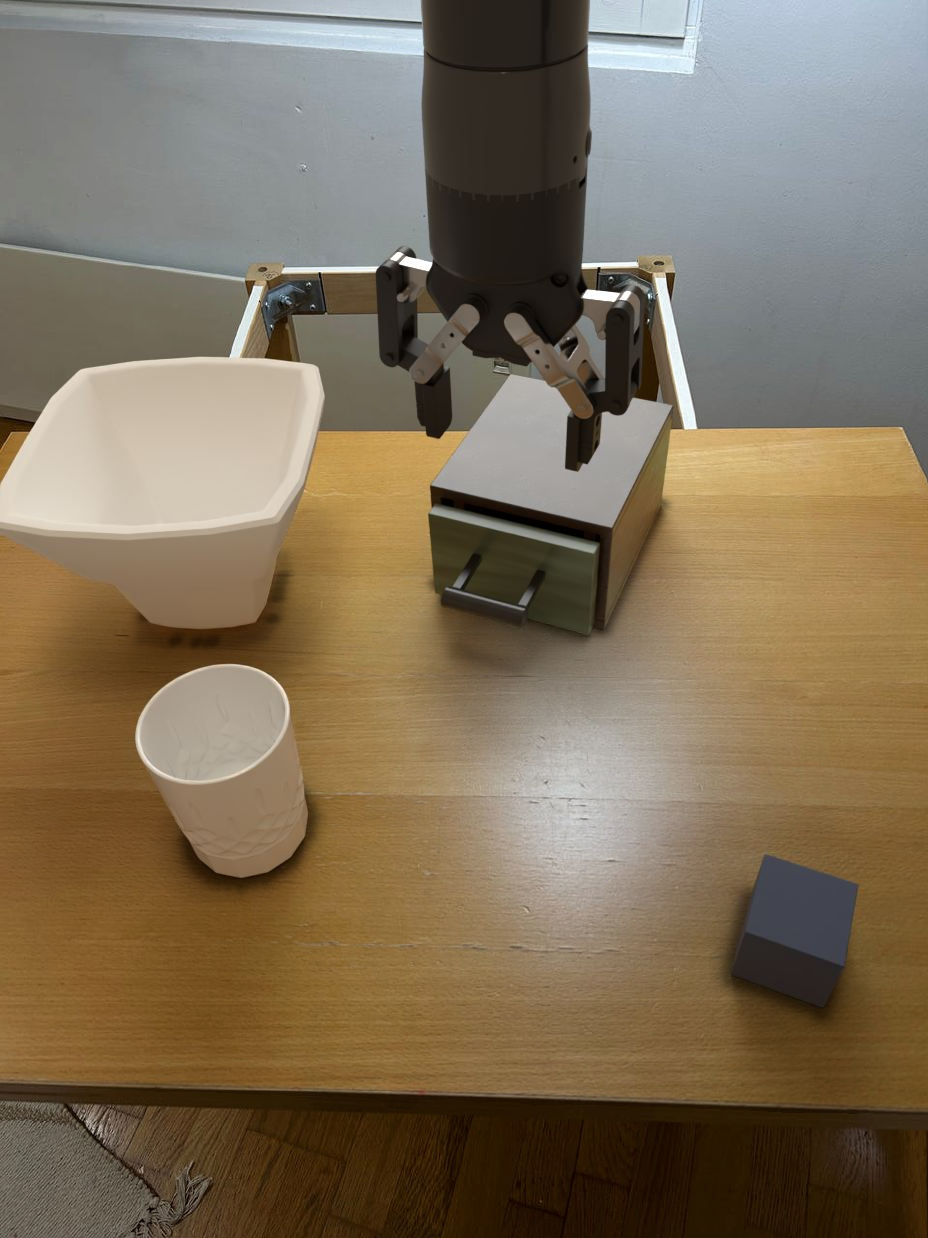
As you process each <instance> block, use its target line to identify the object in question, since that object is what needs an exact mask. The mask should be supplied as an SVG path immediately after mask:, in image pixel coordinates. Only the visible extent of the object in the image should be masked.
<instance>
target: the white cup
mask: <svg viewBox="0 0 928 1238" xmlns="http://www.w3.org/2000/svg"><path fill="white" fill-rule="evenodd" d="M294 727H295V726H294V721H293V715H292V711H291V706H290V701H289V698H288V695H287V693H286V691H285V689H284V688H283V686H282V685H281V684H280V682H279V681H277V679H275V677H273V676H271V675H270V674H269V673H267V672H265V671H263V670H261V669H258V668H255V667H254V666H249V665H244V664H236V663H221V664H212V665H207V666H203V667H200V668H197V669H193V670H191V671H188V672H186V673H184V674H182V675H180V676H177V677H175V678H174V679H173V680H171V681H169V682H168V683H167V684H165V685H164V686H162V687H161V688H160V689H159V690H158V691H156V693H155V694H154V695H153V696H152V697H151V699H149V700H148V701H147V703H146V705H145V706H144V707H143V709H142V711H141V713H140V715H139V718H138V720H137V724H136V726H135V736H134V740H135V747H136V750H137V753H138V756H139V758H140V760H141V761H142V763H143V765H144V767H145V769H146V770H147V772H148V774H149V776H150V778H151V780H152V782H153V783H154V785H155V787H156V788H157V791H158V793H159V794H160V796H161V798H162V800H163V801H164V803H165V806H166V808H167V809H168V811H169V812H170V814H171V815H172V817H173V818H174V821H175V822H176V824H177V825H178V828H179V829H180V830H181V832H182V833H183V834H184V836H185V837H186V838H187V840H188V841H189V843H190V845H191V848H192V849H193V851H194V854H196V856H197V859H199V860H200V861H201V863H204V864H205V865H206V866H207V867H208V868H210V870H212V871H213V872H214V873H216V874H220V875H225V876H228V877H229V876H230V877H234V878H240V879H242V878H248V877H252V876H256V875H257V876H258V875H262V874H266V873H270V871H272V870H274V869H275V868H276V867H278V866H280V865H281V864H283V863H284V862H286V861H287V860H289V859H290V858H292V856H293V854H294V853H295V852H296V851H297V849H298V848H299V846H300V845H301V843H302V841H304V838H305V837H306V833H307V825H308V818H309V810H308V806H307V800H306V795H305V782H304V776H303V771H302V762H301V757H300V752H299V746H298V741H297V737H296V736H297V735H296V732H295V728H294Z"/></svg>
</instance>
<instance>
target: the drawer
mask: <svg viewBox="0 0 928 1238" xmlns="http://www.w3.org/2000/svg"><path fill="white" fill-rule="evenodd" d="M427 517H428V528H429V541H430V551H431V553H430V554H431V562H432V574H433V586H434V587H433V588H434V594H436V595H439V596H441V599H440V606H441V608H443V609H447V610H451V611H454V612H458V613H462V614H466V615H469V616H472V617H476V618H480V619H484V620H488V621H491V622H494V623H498V624H502V625H505V626H509V627H513V628H515V629H520V630H523V629H524V628H525V627H526V625H527V623H528V620H531V621H535V622H539V623H543V624H546V625H549V626H554V627H558V628H561V629H563V630H569V631H573V632H576V633H578V634H583V635H587V636H589V635H590V634H591V632H592V629H593V628H594V627H593V625H594V617H595V603H596V590H597V576H598V563H599V550H600V535H598V534H594V533H589V532H585V531H581V530H577V529H573V528H568V527H564V526H560V525H556V524H552V523H547V522H543V521H539V520H535V519H531V518H526V517H522V516H518V515H514V514H510V513H506V512H501V511H497V510H493V509H489V508H485V507H480V506H476V505H472V504H468V503H464V502H459V501H455V500H454V508H453V507H449V506H445V505H441V504H437V503H435V504H434V506H433V507H431V508H430V510H429V511H428V513H427Z"/></svg>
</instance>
